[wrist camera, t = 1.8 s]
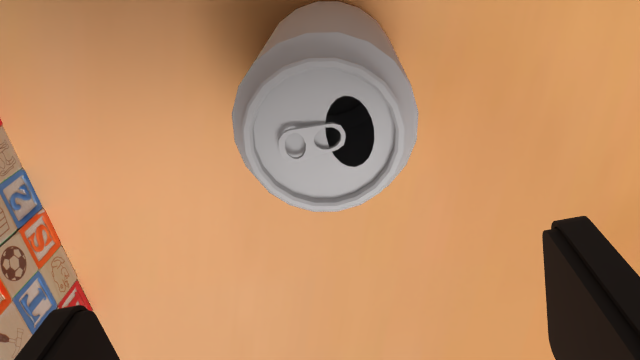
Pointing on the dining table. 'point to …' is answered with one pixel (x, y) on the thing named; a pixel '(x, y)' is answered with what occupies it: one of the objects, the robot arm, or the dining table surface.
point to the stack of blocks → (28, 259)
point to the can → (326, 109)
